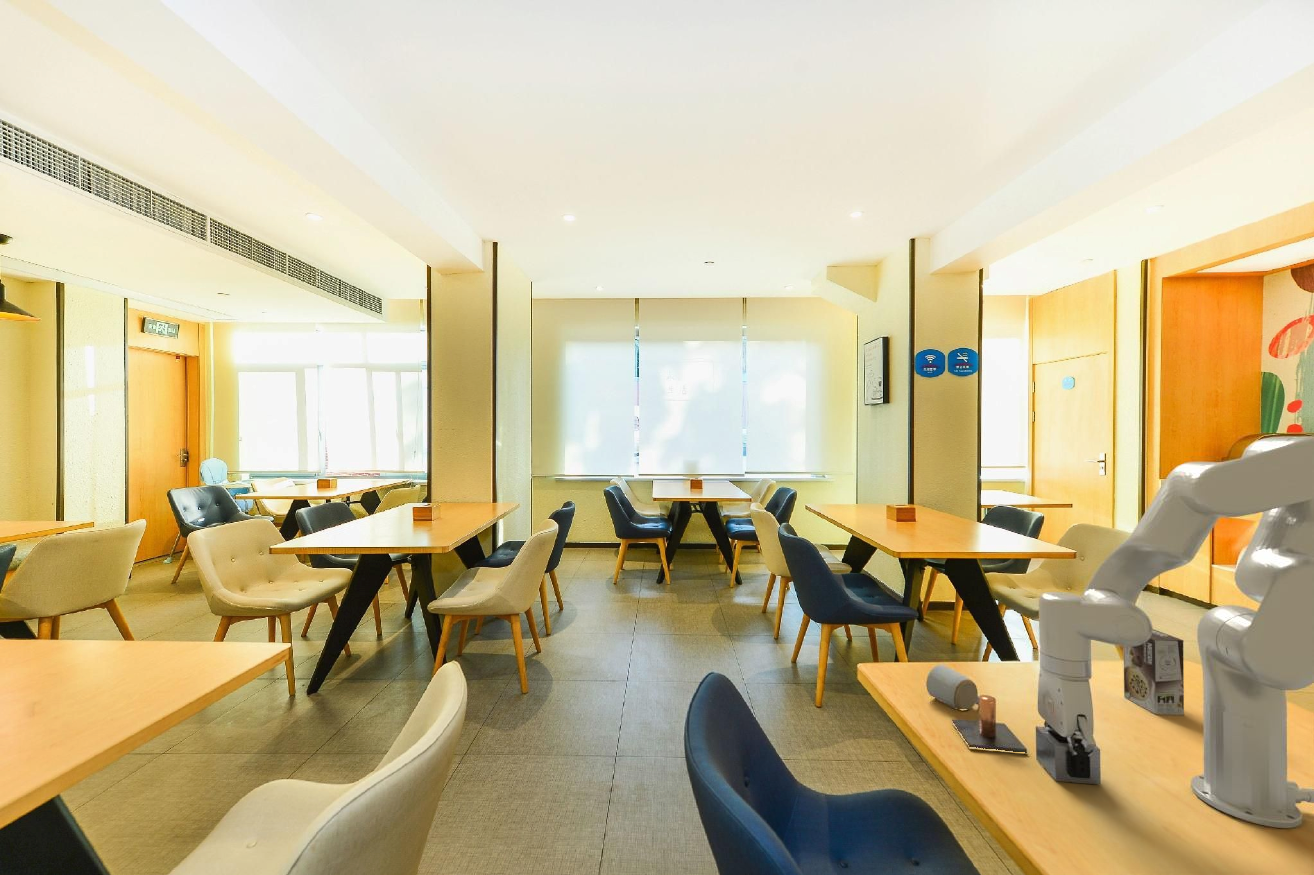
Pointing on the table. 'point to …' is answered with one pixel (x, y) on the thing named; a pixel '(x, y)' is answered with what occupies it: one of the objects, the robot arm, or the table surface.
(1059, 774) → the grey square open box
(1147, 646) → the coffee box
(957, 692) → the ceramic mug
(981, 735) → the post
